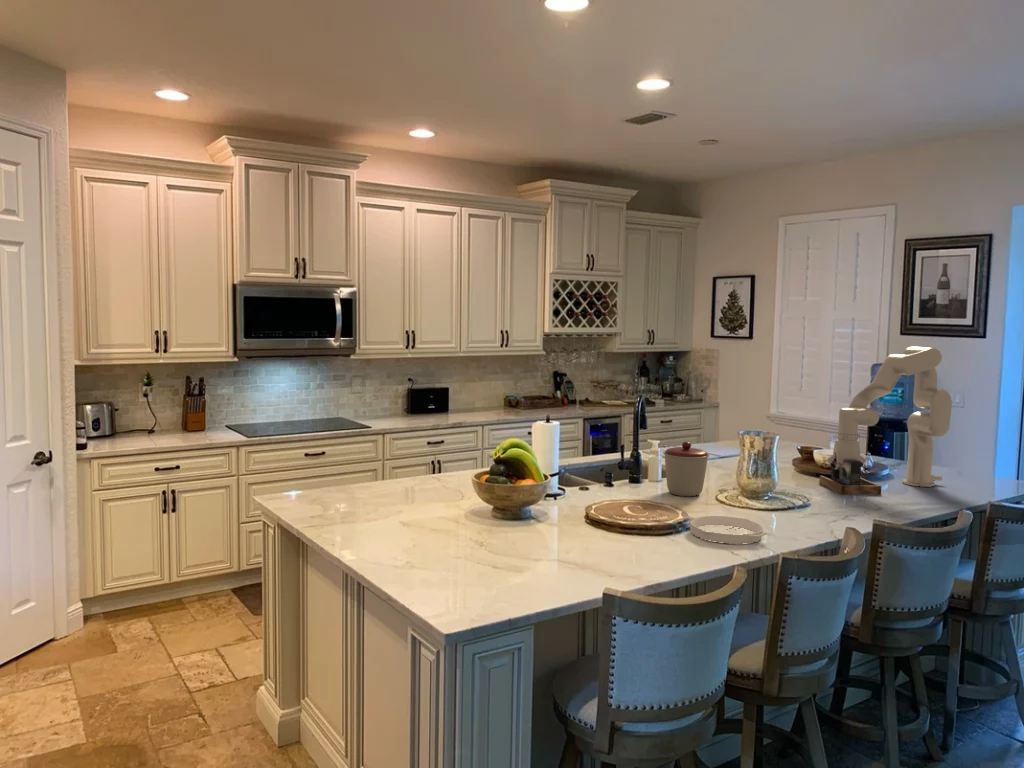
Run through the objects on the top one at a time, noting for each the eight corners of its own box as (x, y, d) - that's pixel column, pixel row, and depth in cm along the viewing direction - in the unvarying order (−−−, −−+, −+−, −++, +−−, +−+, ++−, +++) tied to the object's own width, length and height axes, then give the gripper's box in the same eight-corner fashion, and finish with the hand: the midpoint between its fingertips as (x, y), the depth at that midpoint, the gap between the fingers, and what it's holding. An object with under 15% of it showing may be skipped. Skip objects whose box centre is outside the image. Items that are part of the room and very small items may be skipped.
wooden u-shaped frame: (856, 483, 335) (856, 475, 335) (880, 494, 315) (881, 486, 315) (819, 483, 334) (819, 475, 334) (841, 494, 314) (842, 485, 314)
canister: (684, 501, 298) (686, 447, 296) (652, 491, 313) (654, 440, 311) (717, 496, 307) (719, 443, 306) (684, 487, 323) (686, 437, 321)
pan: (741, 552, 234) (741, 540, 234) (634, 524, 265) (635, 513, 264) (782, 538, 251) (782, 527, 250) (677, 512, 281) (678, 503, 281)
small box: (829, 482, 332) (830, 457, 331) (840, 480, 335) (842, 456, 334) (849, 487, 322) (850, 462, 322) (860, 485, 325) (862, 461, 324)
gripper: (862, 435, 331) (860, 476, 333) (823, 435, 330) (821, 476, 331) (872, 438, 324) (870, 480, 325) (832, 438, 322) (829, 480, 324)
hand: (845, 478), depth 328 cm, fingers closed on small box, 7 cm apart
